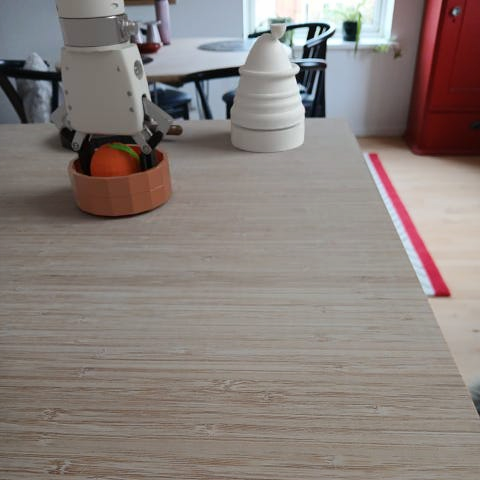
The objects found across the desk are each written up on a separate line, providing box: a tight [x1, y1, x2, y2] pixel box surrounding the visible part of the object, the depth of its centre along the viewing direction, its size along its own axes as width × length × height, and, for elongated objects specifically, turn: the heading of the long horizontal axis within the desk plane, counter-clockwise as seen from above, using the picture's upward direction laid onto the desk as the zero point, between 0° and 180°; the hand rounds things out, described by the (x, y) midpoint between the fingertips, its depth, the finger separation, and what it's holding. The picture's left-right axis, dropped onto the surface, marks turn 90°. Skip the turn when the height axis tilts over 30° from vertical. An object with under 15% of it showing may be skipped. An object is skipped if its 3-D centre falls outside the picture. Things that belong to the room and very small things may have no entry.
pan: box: [58, 119, 184, 152], centre depth 94 cm, size 23×16×3 cm
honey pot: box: [229, 22, 306, 153], centre depth 85 cm, size 13×13×18 cm
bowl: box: [66, 144, 173, 217], centre depth 71 cm, size 13×13×6 cm
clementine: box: [90, 142, 141, 177], centre depth 70 cm, size 8×7×7 cm
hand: (120, 177), depth 70 cm, fingers closed on clementine, 8 cm apart
